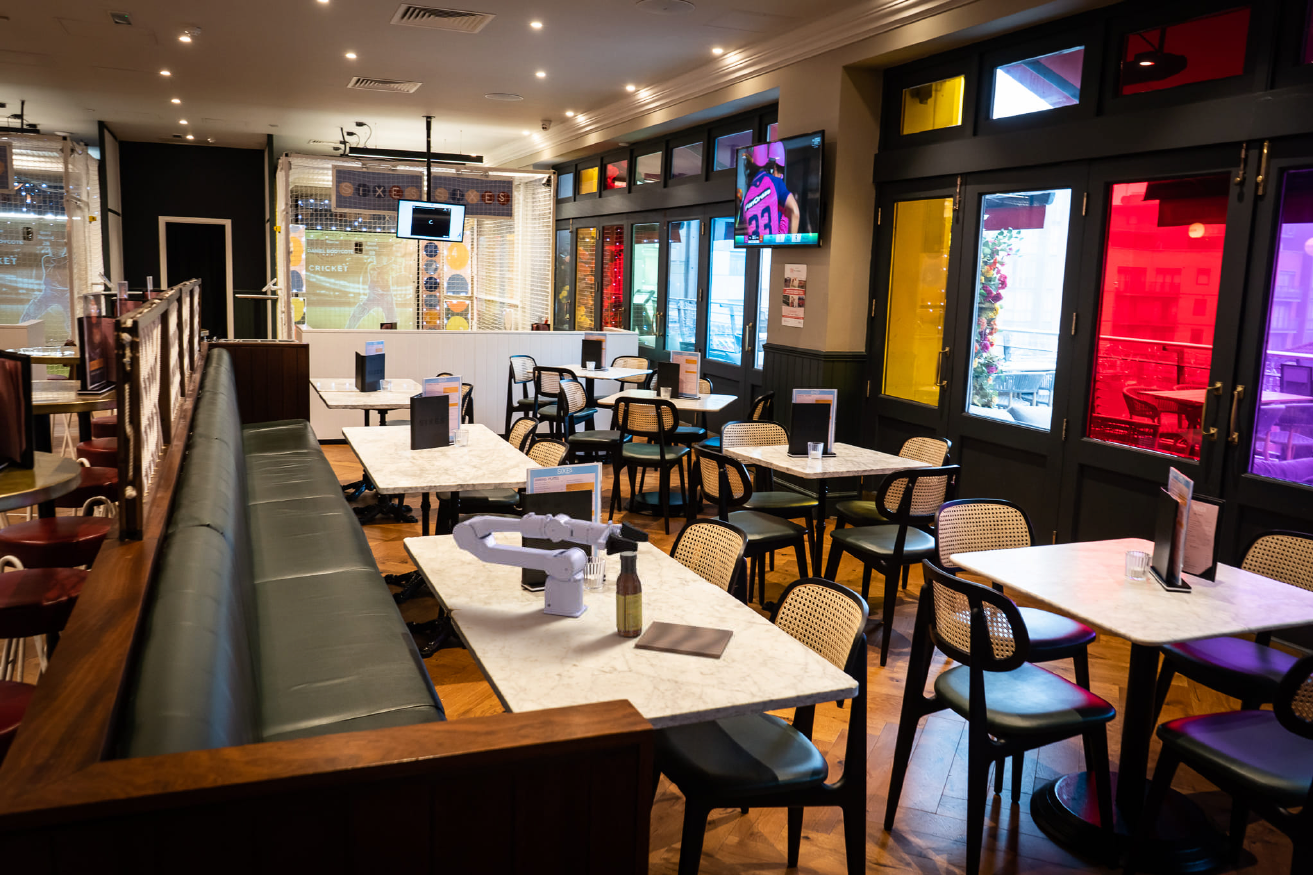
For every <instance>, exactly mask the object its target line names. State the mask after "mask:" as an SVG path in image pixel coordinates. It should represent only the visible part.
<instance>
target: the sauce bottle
mask: <svg viewBox="0 0 1313 875" xmlns="http://www.w3.org/2000/svg"><path fill="white" fill-rule="evenodd" d="M637 555H638V553H637V552H631V551H627V552H622V553H619V560H620V572H619V574H618V576H617V578H616V582H615V585H616V586H615V587H616V589H615V590H616V591H615V608H616V610H615V611H616V612H615V613H616V614H615V617H616V622H615V623H616V624H615V625H616V629H617V630H616V632H617V634H618V635H619V636H622V637H625V638H633V637H634V638H635V637H638V636H640V635H641V634H643V633H642V632H643V588H642V584H641V580H640V577H639V575H638V572H637V569H638V568H637V559H638V556H637Z"/></svg>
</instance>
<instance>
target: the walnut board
mask: <svg viewBox="0 0 1313 875" xmlns="http://www.w3.org/2000/svg"><path fill="white" fill-rule="evenodd" d="M733 635H734V630H730V629H729V630H728V629H721V628H712V627H705V626H696V625H688V624H680V623H671V622H663V621H655V620H653V621H652V622H651V624H650V625H649V626H648V628H647V629H646V630H645V631H644V632H643V633H642V635H641V636H640V637H639V638H638V640H637V641H636V642H635V643H634V647H635V648H637V649H647V650H653V651H662V652H671V653H677V654H683V655H684V654H685V655H692V656H698V657H699V656H700V657H707V658H708V657H709V658H714V659H721V658H722V656H723V653H724V652H725V650H726V648H727V647H728V645H729V642H730V641H731V639H732V637H733Z"/></svg>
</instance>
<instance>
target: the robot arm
mask: <svg viewBox="0 0 1313 875" xmlns="http://www.w3.org/2000/svg"><path fill="white" fill-rule="evenodd" d="M497 532H498V533H501V532H502V533H519V534H521V536H522V537H523V538H533V539H534V538H535V539H536V538H537V539H550V540H551V541H552V542H553V543H557V542H560V541H562V540H563V541H568V542H573V543H578V544H583V545H589V546H594V547H596V550H599V551H605V550H606V552H605V553H606V555H607V557H608V556H609V557H611V556H613V555H616V554H620V553H622V552H627V551H631V552H635V553H637V552H638V551H639V550H638V549H639V543H648V542H649V535H650V534H649V533H648V532H647V531H644V530H641V529H639V528H637V527H635V525H632V524H631V523H630V522H629V521H626V520H624V521H622V522H621V523H619V524H614V522H613V520H608V522H606V524H605V523H601V522H595V521H589V520H588V521H587V520H583V519H575V518H574V519H573V518H571V517H570V515H567V514H564V513H559V514H556V515H555V516H554V517H553V515H552V514H550V513H548V514H546V515H536V513H535V512H529V513H527V514H525V515H523V516H522V518H511V517H503V516H494V515H487V514H486V515H476V516H473V517H472V518H470V519H467V520H465V521H463V522H459V523H458V524H456V525H455V526H454V527H453V530H452V538H453V540H454V542H455V543H456V545H457V547H458V548H459V549H460V550H463V551H467V552H468V553H470V554H471V555H472V556H474V557H476V558H477V559H479V560H480V561H481V562H483V563H487V564H495V565H503V566H511V567H516V568H525V569H531V570H538V571H539V570H540V571H545V574H546V575H548V576H547V578H546V581H545V584H544V606H543V607H544V608H543V612H542V613H544V614H550V615H557V616H566V617H575V618H579V617H580V616H581V615H582V614H583V613H584V612H585V611H586V610H587V609H588V608H589V605H586V604H585V605H584V570H585V569H586V567H587V565H588V556H587V554H586V552H585V551H584V550H583V549H581V548H579V547H571V548H569V549H562V548H561V549H554V550H547V549H541V548H533V547H526V546H525V547H523V546H516V545H510V544H502V543H497V541H496V538H495V536H494V533H497Z"/></svg>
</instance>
